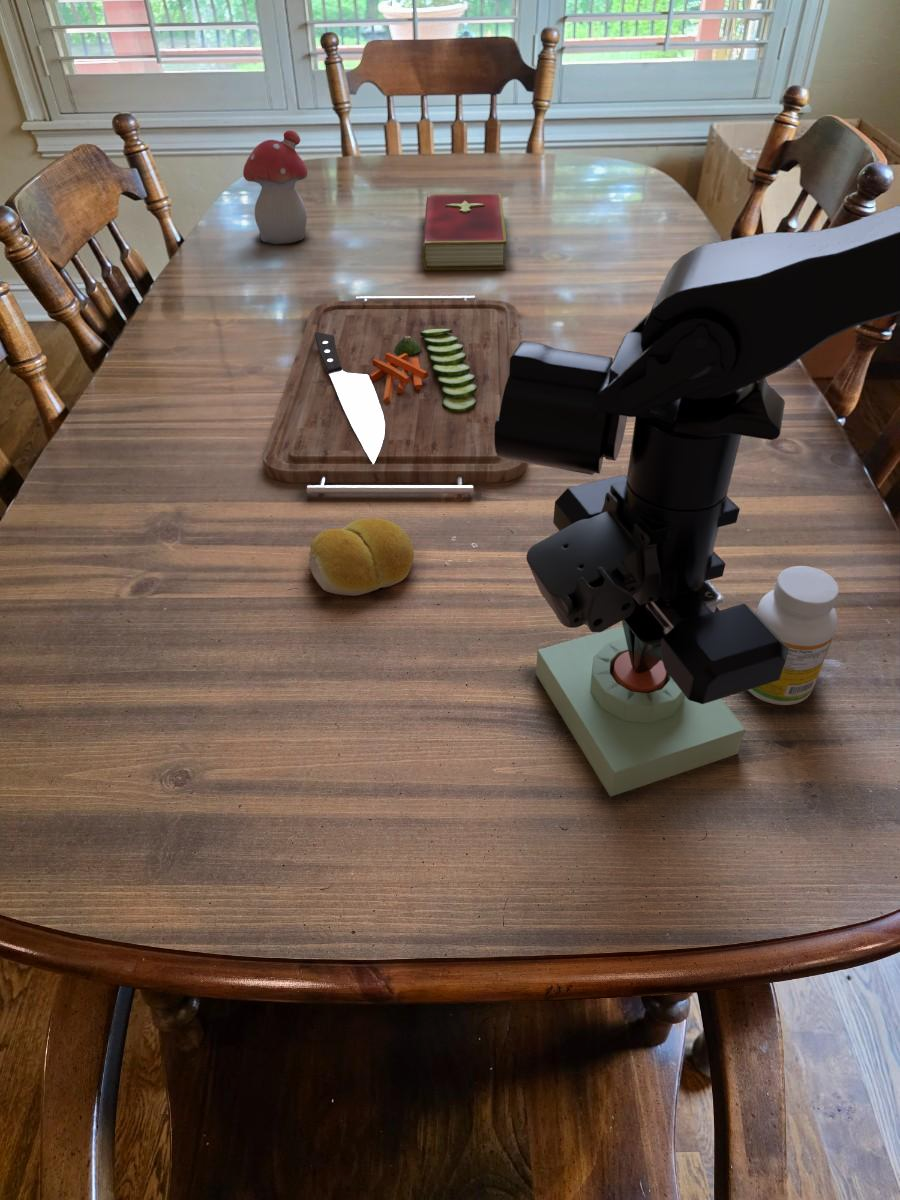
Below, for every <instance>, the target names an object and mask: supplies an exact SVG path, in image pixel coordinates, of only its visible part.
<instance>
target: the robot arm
mask: <svg viewBox="0 0 900 1200" xmlns="http://www.w3.org/2000/svg"><path fill="white" fill-rule="evenodd" d="M898 314H900V204H898V205H895V206H893V207H890V208H887V209H884V210H881V211H879V212H876V213H873V214H870V215H868V216H865V217H862V218H860V219H857V220H856V219H855V220H854V221H851V222H848V223H846V224H842V225H839V226H835V227H829V228H824V229H819V230H813V231H787V232H786V231H785V232H782V231H780V232H778V231H777V232H773V231H772V232H771V231H770V232H762V233H758V234H754V235H753V234H751V235H747V236H743V237H738V238H733V239H728V240H727V239H726V240H722V241H717V242H713V243H707V244H704V245H699V246H697V247H696V248H694V249H692V250H690V251H688V252H687V253H685V254H682V255H681V257H679V258H678V259H677V260H676V261H675V262H674V263H673V264H672V266H671V268H670V269H669V270H668V272H667V274H666V276H665V278H664V280H663V283H662V284H661V286H660V289H659V291H658V293H657V296H656V298H655V299H654V302H653V305H652V307H651V308H650V311H649V312H648V313H647V314H646V315H645V316H644V317H642V319H641V320H640V321H639V322H638V323H637V324H636V325H634V327H633V328H632V329H631V330H629V331H627V332H626V334H625V336H624V337H623V338H622V340H621V342H620V345H619V346H618V349H617V351H616V353H615V355H614V357H612V356H605V355H599V354H592V353H586V352H580V351H579V352H578V351H573V350H565V349H559V348H555V347H552V346H549V345H546V344H544V343H539V342H533V341H527V340H522V341H520V344H519V345H518V347H517V348H516V350H515V351H514V353H513V354H512V356H511V357H510V373H509V377H508V380H507V383H506V386H505V390H504V394H503V398H502V403H501V409H500V415H499V417H498V418H497V420H496V422H495V432H494V440H495V450H496V453H497V456H498V457H499V458H502V459H508V460H513V461H519V462H524V463H528V464H531V465H535V466H541V467H545V468H553V469H558V470H563V471H568V472H573V473H579V474H585V475H591V476H592V475H593V476H594V474H599V475H600V473H601V472H602V467H603V462H604V458H605V460H606V461H607V460H608V461H612V462H613V461H614V462H615V461H616V460H617V459H618V458H619V454H620V451H621V448H622V445H623V440H624V436H625V432H626V427H627V421H628V417H629V418H635V419H634V426H633V431H632V432H633V433H632V441H631V447H630V453H629V459H628V467H627V473H626V475H625V474H622V475H617V476H613V477H609V478H603V479H600V480H596V481H591V482H587V483H582V484H578V485H574V486H571V487H567V488H566V489H564V491H563V492H562V493H561V495H560V496H558V498H557V499H556V500H554V508H553V520H552V523H553V525H554V526H555V527H556V529H557V530H558V531H556V532H555V533H553V534H551V535H549V536H548V537H546V538H545V539H542V540H540V541H539V542H536V543H535V544H533V545H532V546H531V547H530V548H529V549H528V551H527V553H526V557H525V558H526V563H527V564H528V566H529V569H530V571H531V574H532V577H533V578H534V580H535V583H536V585H537V588H538V590H539V592H540V594H541V596H542V597H543V598H544V600H545V601H546V603H547V604H548V605H549V607H550V608H551V609H552V611H553V612H554V614H555V616H556V618H557V620H558V621H559V622H560V624H561V625H563V626H564V627H565V628H570V629H577V628H580V627H582V626H584V625H585V626H587V628H588V630H589V631H590V632H591V633H599V632H602V631H606V630H609V629H610V628H611V627H613V626H615V625H617V624H618V623H620V622H621V626H623V629H624V634H625V638H626V643H627V647H628V652H629V656H630V661H631V665H632V667H633V668H634V669H635V671H636V672H637V673H638V674H639V673H643V672H646V671H649V670H651V669H652V668H653V667H654V666H655V665H656V664H657V663H658V662H659V661H660V660H661V659H662V660H663V664H664V668H665V670H666V671H667V672H668V674H669V675H670V676H671V678H672V679H673V680H674V682H675V683H676V684H677V686H678V687H679V688H680V689H681V691H682V692H683V693H684V695H685V696H686V697H687V699H688V700H690V701H693V702H697V703H700V704H705V703H708V702H711V701H715V700H718V699H724V698H726V697H730V696H733V695H736V694H739V693H743V692H745V691H748V690H749V689H752V688H755V687H759V686H762V685H765V684H768V683H771V682H774V681H777V680H779V679H780V676H781V673H782V670H783V667H784V665H785V662H786V658H787V655H788V651H789V648H788V647H787V646H786V645H785V644H784V643H783V641H782V640H781V639H780V638H779V637H778V636H777V635H776V634H775V633H774V632H773V631H772V630H771V629H770V628H769V626H768V625H767V624H766V623H765V622H764V621H763V620H762V619H761V618H760V617H759V616H758V615H757V614H756V611H754V610H753V609H752V608H751V607H750V606H748V604H745V603H742V604H737V605H735V606H731V607H727V608H724V609H720V608H719V607H718V604H722V603H723V601H724V596H723V594H722V593H721V592H720V591H719V590H718V589H717V588H716V587H715V585H713V583H712V582H711V581H710V580H715V579H718V578H721V577H723V576H724V573H725V569H726V568H725V567H726V563H725V561H724V560H723V559H722V558H721V557H720V556H719V555H718V554H717V553H716V552H715V551H714V550H715V546H716V542H717V538H718V534H719V529H720V528H721V527H726V526H729V525H733V524H736V523H737V522H738V518H739V514H740V510H741V509H740V507H739V506H738V505H737V504H736V503H735V502H733V501H732V499H730V497H729V496H728V492H729V488H730V484H731V479H732V476H733V473H734V472H733V471H734V469H735V468H734V467H735V463H736V459H737V456H738V455H737V454H738V451H739V446H740V443H741V439H742V437H744V436H745V437H750V438H755V439H761V440H767V441H775V440H777V439H778V438H779V437H780V436H781V432H782V424H783V420H784V419H783V417H784V411H785V404H786V402H785V399H784V398H783V397H782V396H781V395H780V394H779V393H778V392H777V391H776V390H775V389H774V388H773V387H771V386H770V385H769V382H768V381H767V377H770V376H772V375H775V374H777V373H778V372H781V371H782V370H785V369H786V368H788V367H790V366H791V365H792V364H794V363H795V362H797V361H798V360H800V359H801V358H802V357H804V356H806V355H807V354H808V353H811V351H813V350H814V349H815V348H817V347H818V346H820V345H822V344H823V343H825V342H826V341H827V340H829V339H831V338H834V337H835V336H837V335H839V334H842V333H844V332H846V331H848V330H852V328H856V327H857V326H862V325H864V324H867V323H871V322H874V321H878V320H881V319H884V318H889V317H892V316H895V315H898Z"/></svg>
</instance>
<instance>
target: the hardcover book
mask: <svg viewBox="0 0 900 1200" xmlns="http://www.w3.org/2000/svg"><path fill="white" fill-rule="evenodd" d="M502 197H503V196H502V193H499V192H496V193H492V192H491V193H437V194H436V193H434V194H431V193H429V194H427V197H426V204H425V213H424V214H425V216H424V227H423V238H422V251H421V252H422V253H421V260H422V265H423V269H424V270H425V271H473V270H475V271H477V270H478V271H479V270H481V271H482V270H485V271H486V270H506V269H507V265H506V264H507V263H506V255H505V245H507V233H506V226H505V216H504V207H503V198H502Z"/></svg>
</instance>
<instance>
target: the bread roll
mask: <svg viewBox="0 0 900 1200" xmlns="http://www.w3.org/2000/svg"><path fill="white" fill-rule="evenodd" d="M308 556H309V558H308V563H307V564H308V567H309V569H310V572H311V573H312V576H313V578H314V580H315V581H316V583H317V584H318V585H319V586H320V588H321V589H322V590H323V591H325V592H327V593H330V594H334V595H340V596H341V595H342V596H352V597H353V596H360V595H364V594H369V593H371V592H373V591H377V590H379V589H380V588H389V587H391V586H394V585H396V584H398V583H400V582H401V581H403V580H405V579H406V578H407V576H408V575H409V573H410V571H411V568H412V565H413V562H414V557H415V556H414V547H413V543H412V541H411V538H410V536H408V534H407V532H406V530H404V529H403V528H402V527H400V525H398V524H397V523H395V522H393V521H391V520H388V519H384V518H376V517H375V518H358V519H357V520H354V521H352V522H350V523H348V524H347V525H345V526H343V527H342V528H328V529H325V530H322V531H320V532H319V533H318V534H317V535H316V536H315V537H314V539H313V540H312V541H311V542H310V551H309V554H308Z"/></svg>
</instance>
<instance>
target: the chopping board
mask: <svg viewBox="0 0 900 1200" xmlns="http://www.w3.org/2000/svg"><path fill="white" fill-rule="evenodd" d="M518 311H519V310H518V309H517V307H516V306H515V305H513V304H512V303H510V302H507V301H503V300H496V299H495V300H494V299H476V296H475V295H407V296H406V295H404V296H403V295H400V296H399V295H397V296H396V295H393V296H388V295H386V296H385V295H383V296H381V295H380V296H378V295H377V296H375V295H374V296H355V300H335V301H328V302H324V303H321V304H318V305H317V306H315V307H314V308H313V309H311V311H310V313H309V315H308V319H307V321H306V325H305V328H304V331H303V334H302V336H301V339H300V342H299V345H298V348H297V351H296V354H295V357H294V360H293V363H292V366H291V369H290V372H289V375H288V378H287V381H286V384H285V386H284V389H283V393H282V395H281V398H280V402H279V404H278V406H277V410H276V413H275V416H274V419H273V422H272V425H271V428H270V431H269V434H268V437H267V440H266V443H265V446H264V448H263V451H262V462H263V468H264V472H265V473H266V474H267V476H268V477H269V478H271V479H274V480H276V481H278V482H282V483H284V482H285V483H292V484H297V483H298V484H299V483H300V484H303V483H304V484H305V483H306V484H308V485H306V493H307V494H308V495H311V494H312V495H315V494H316V495H321V494H322V495H325V494H326V495H328V494H329V495H330V494H331V495H332V494H334V495H338V494H339V495H343V494H344V495H352V494H353V495H378V494H379V495H422V494H423V495H425V494H426V495H466V494H467V495H473V494H474V489H475V488H474V485H473V484H495V483H497V484H498V483H505V482H509V481H512V480H515V479H517V478H520V477H521V475H523V474H524V473H526V471H527V468H528V464H529V463H524V462H519V461H513V460H508V459H502V458H499V457H498V456H497V453H496V450H495V440H494V432H495V422H496V420H497V418H498V417H499V415H500V409H501V403H502V398H503V394H504V390H505V386H506V383H507V380H508V377H509V373H510V357H511V356H512V354H513V353H514V351H515V350H516V348H517V347H518V345H519V344H520V343H521V339H520V327H519V312H518ZM309 483H310V484H309ZM312 483H315V485H314V484H313V485H311V484H312ZM316 483H317V484H316ZM330 483H331V484H332V485H331V484H330ZM334 483H335V484H334ZM336 483H337V484H336ZM338 483H339V485H338ZM340 483H341V484H340ZM347 483H348V485H346V484H347ZM349 483H350V485H349ZM353 483H354V485H353ZM355 483H359V484H358V485H357V484H356V485H355ZM362 483H363V484H365V483H366V484H367V485H366V484H365V485H363V484H362ZM370 483H371V485H369V484H370ZM373 483H374V484H375V485H373ZM377 483H379V485H378V484H377ZM382 483H383V484H387V483H388V484H389V483H390V485H383V484H382ZM395 483H396V484H398V485H396V484H395ZM399 483H400V484H399ZM407 483H408V484H407ZM326 484H327V485H326ZM328 484H330V485H328ZM333 484H334V485H333ZM343 484H344V485H343ZM361 484H362V485H361ZM376 484H377V485H376ZM381 484H382V485H381ZM391 484H392V485H391ZM393 484H394V485H393ZM402 484H405V485H402ZM409 484H410V485H409ZM411 484H415V485H411ZM417 484H418V485H417ZM419 484H424V485H419ZM425 484H429V485H425ZM430 484H431V485H430ZM432 484H433V485H432ZM435 484H436V485H435ZM437 484H438V485H437ZM441 484H447V485H441ZM449 484H451V485H449ZM455 484H456V485H455ZM463 484H468V485H463ZM469 484H470V485H469ZM471 484H472V485H471Z"/></svg>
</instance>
